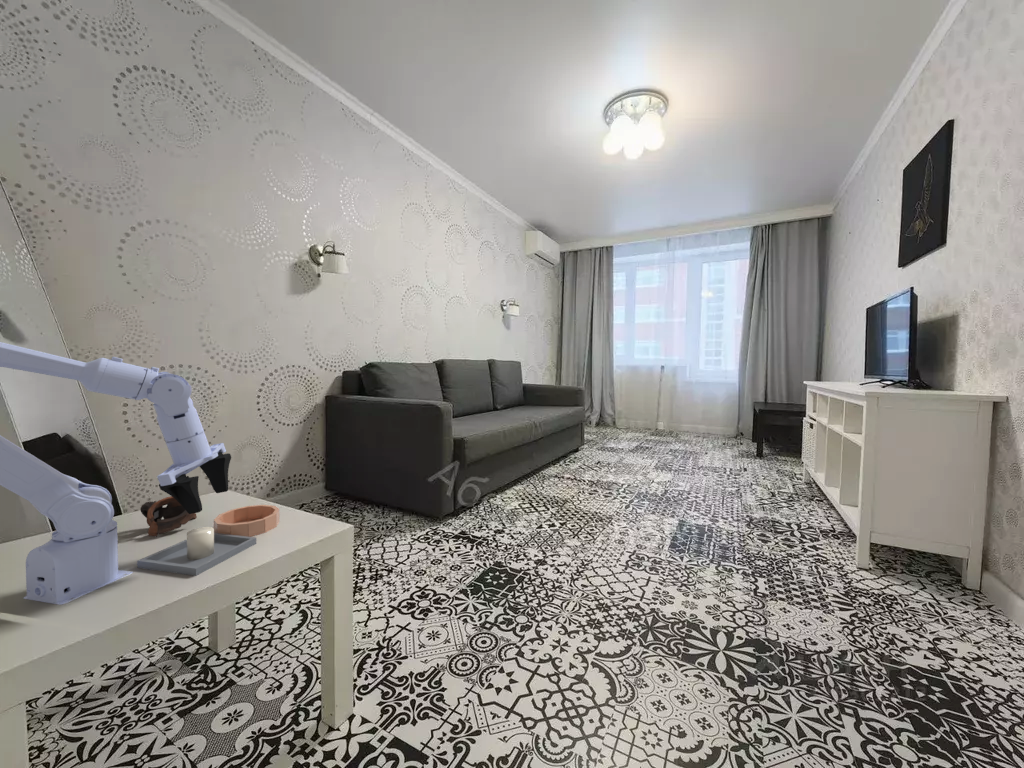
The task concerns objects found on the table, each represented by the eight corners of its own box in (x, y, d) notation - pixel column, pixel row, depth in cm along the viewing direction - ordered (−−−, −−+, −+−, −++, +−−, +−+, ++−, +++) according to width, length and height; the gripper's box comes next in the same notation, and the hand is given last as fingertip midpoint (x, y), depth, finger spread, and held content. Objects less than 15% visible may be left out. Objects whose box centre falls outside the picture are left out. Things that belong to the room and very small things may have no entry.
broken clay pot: (211, 521, 92) (207, 497, 88) (178, 556, 84) (172, 530, 80) (160, 508, 91) (153, 483, 87) (121, 541, 83) (112, 515, 79)
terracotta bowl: (248, 544, 80) (248, 527, 79) (200, 538, 82) (200, 521, 82) (290, 522, 91) (290, 507, 91) (247, 517, 93) (247, 503, 93)
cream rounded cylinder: (199, 560, 71) (199, 536, 71) (181, 558, 72) (180, 534, 72) (219, 550, 75) (219, 527, 75) (202, 548, 76) (201, 525, 76)
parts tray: (196, 579, 66) (196, 568, 66) (137, 570, 69) (137, 560, 69) (256, 546, 79) (256, 537, 79) (204, 540, 81) (204, 531, 81)
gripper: (177, 447, 66) (204, 518, 69) (231, 420, 80) (252, 480, 83) (134, 454, 65) (163, 525, 68) (196, 426, 79) (218, 486, 83)
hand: (209, 501), depth 76 cm, fingers open, 7 cm apart
